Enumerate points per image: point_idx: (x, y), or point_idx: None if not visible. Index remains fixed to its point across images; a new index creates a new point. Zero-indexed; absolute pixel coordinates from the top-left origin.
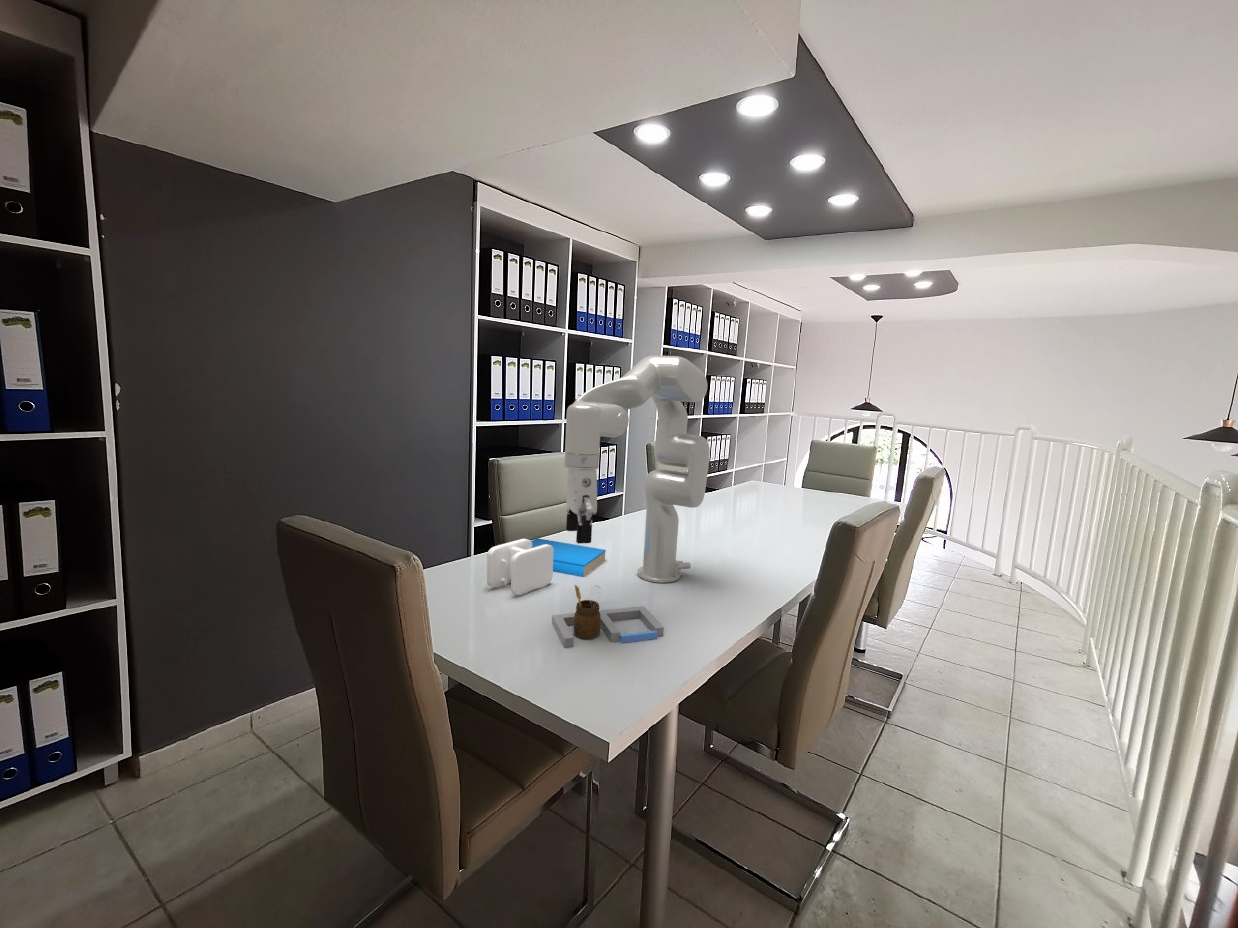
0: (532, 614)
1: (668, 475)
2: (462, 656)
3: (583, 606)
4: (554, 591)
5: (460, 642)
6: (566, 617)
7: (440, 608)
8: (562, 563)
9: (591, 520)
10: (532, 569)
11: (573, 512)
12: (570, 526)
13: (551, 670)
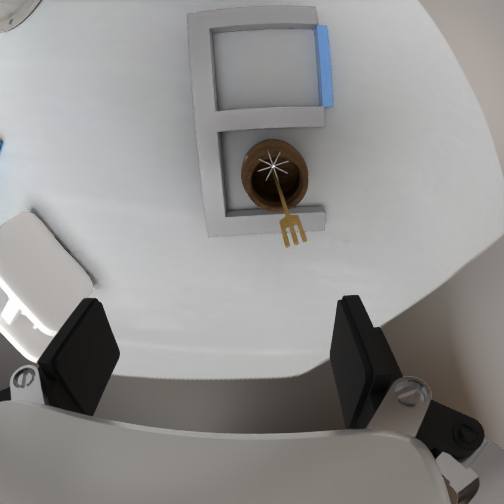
0: (166, 260)
1: None
2: (304, 360)
3: (251, 184)
4: (61, 205)
5: (262, 363)
6: (224, 208)
7: (147, 376)
8: None
9: (470, 417)
10: (44, 273)
11: (65, 409)
12: (107, 358)
13: (386, 257)
